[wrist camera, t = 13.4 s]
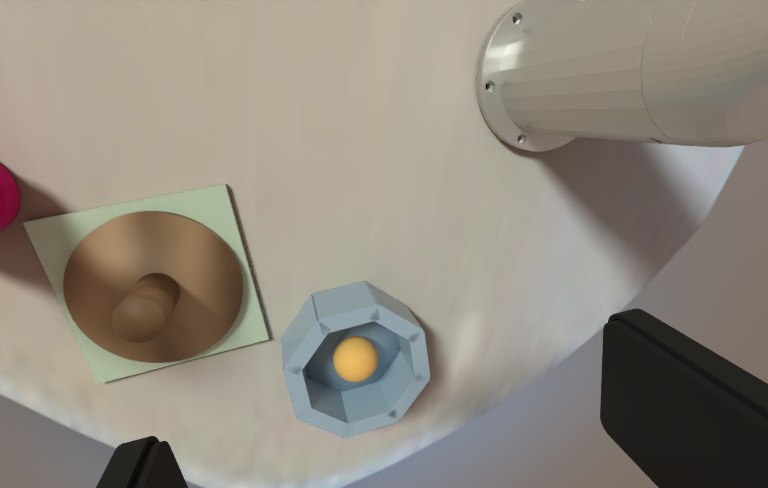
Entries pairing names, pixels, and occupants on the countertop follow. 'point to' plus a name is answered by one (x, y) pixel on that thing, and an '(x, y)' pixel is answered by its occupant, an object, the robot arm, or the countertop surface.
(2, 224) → the pepper mill
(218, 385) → the countertop surface
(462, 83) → the countertop surface
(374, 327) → the bowl
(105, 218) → the mat
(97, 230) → the lid
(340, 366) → the clementine
